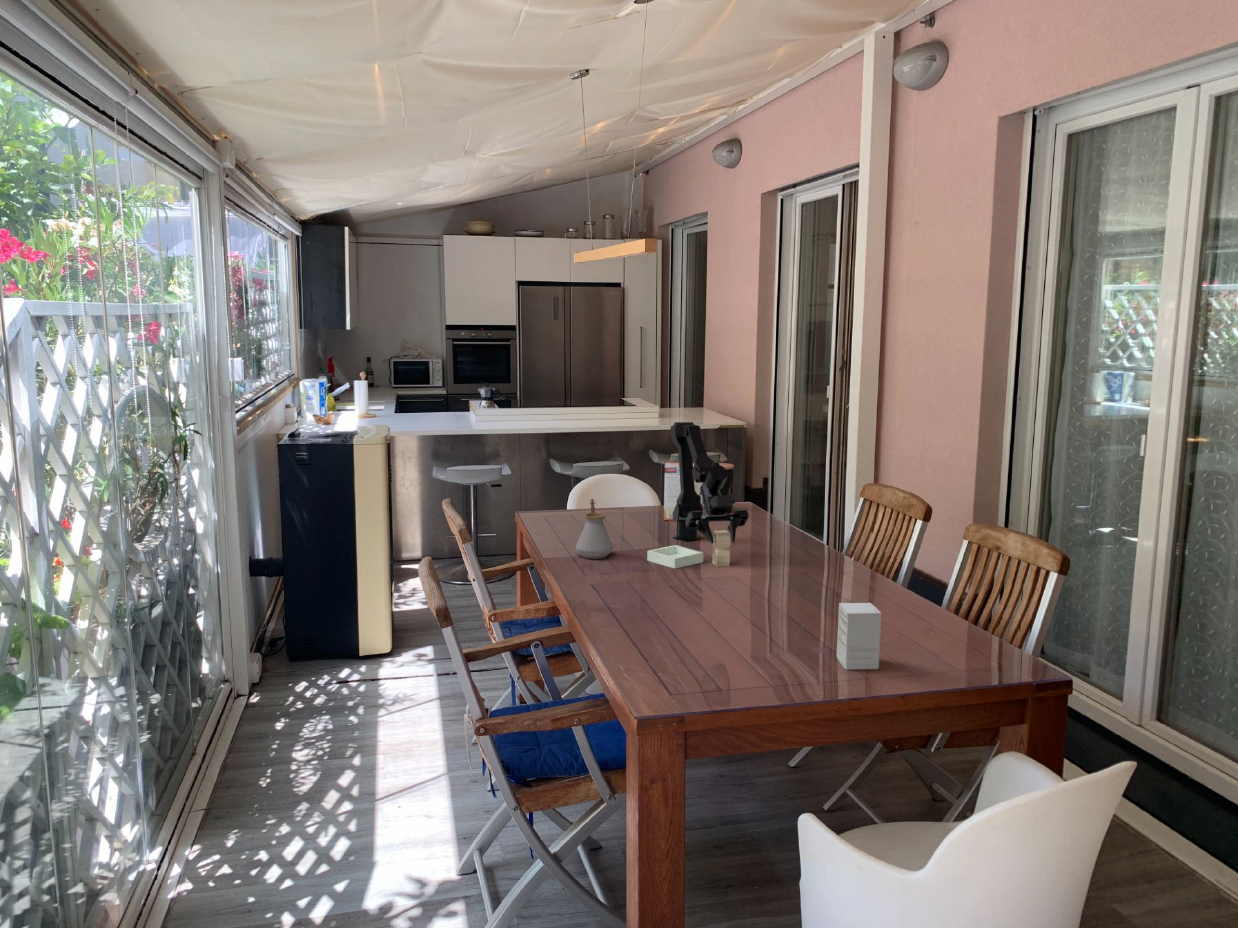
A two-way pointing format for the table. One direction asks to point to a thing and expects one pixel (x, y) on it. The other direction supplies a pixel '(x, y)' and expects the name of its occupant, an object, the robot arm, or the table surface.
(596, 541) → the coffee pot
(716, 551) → the handle block
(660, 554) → the tray
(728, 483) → the coffee jar
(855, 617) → the supplement box
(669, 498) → the cracker box
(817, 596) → the table surface
